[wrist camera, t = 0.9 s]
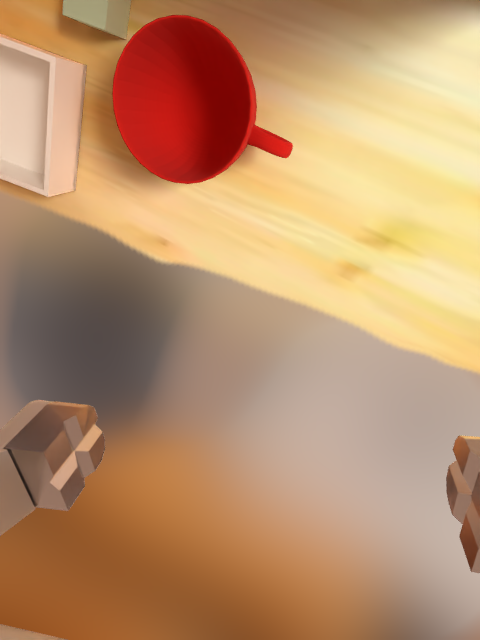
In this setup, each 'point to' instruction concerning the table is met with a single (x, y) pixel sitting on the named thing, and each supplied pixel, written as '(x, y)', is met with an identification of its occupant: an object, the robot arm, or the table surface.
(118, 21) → the sage cube
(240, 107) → the ceramic cup
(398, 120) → the table surface
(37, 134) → the tub
